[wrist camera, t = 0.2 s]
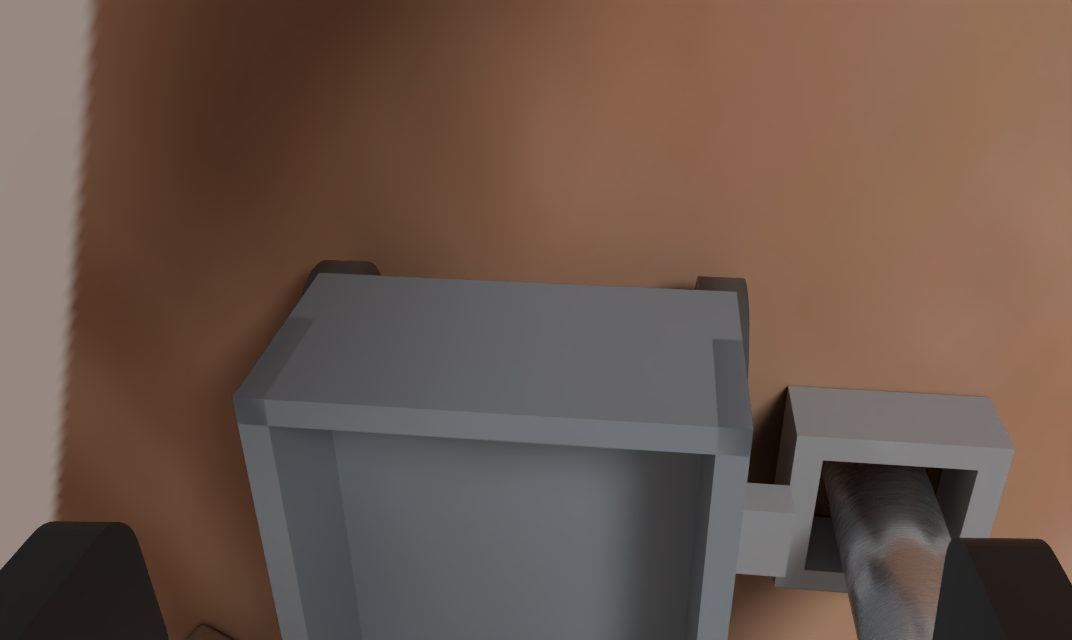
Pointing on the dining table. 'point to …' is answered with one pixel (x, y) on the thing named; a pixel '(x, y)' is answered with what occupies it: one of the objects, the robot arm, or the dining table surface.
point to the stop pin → (888, 546)
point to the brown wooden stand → (207, 634)
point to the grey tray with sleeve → (555, 460)
